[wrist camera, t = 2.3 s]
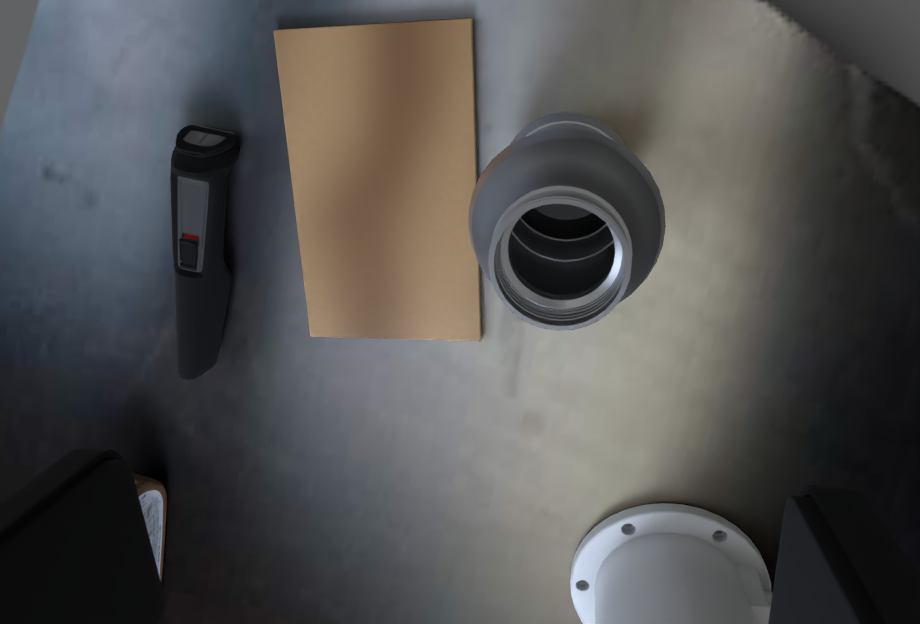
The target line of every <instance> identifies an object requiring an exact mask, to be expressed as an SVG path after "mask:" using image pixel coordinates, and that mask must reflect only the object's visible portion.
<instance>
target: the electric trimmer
mask: <svg viewBox="0 0 920 624" xmlns="http://www.w3.org/2000/svg"><path fill="white" fill-rule="evenodd" d="M235 134H236V133H235ZM235 134H234V133H233V132H232V133H230V132H228V131H226V132H225V131H222V130H219V129H218V130H215V129H213V128H212V129H211V128H207V127H205V126H204V127H202V126H195V125H190V126H186V127H184V128H183V129H181V130H180V132H179V133H178V135H177V139H176V147H175V149H174V151H173V153H172V158H171V177H170V178H171V210H172V241H173V259H174V267H175V275H176V315H177V355H178V373H179V375H180V377H181V378H182V379H185V380H190V379H195V378H197V377H199V376H200V375H202V374H203V373H205V372H206V371H208V370H209V369H210V368H212V367H213V366H214V365H215V363H216V361H217V357H218V353H219V348H220V344H221V338H222V333H223V327H224V321H225V316H226V310H227V305H228V299H229V293H230V287H231V280H232V276H231V273H230V271H229V270H228V268H227V266H226V264H225V262H224V258H223V249H224V231H225V213H226V195H227V177H228V173H229V172H230V170H231V169H232V167H233V166H234V164H235V162H236V160H237V158H238V157H239V153H240V146H238V145H237V144H236V135H235Z"/></svg>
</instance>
